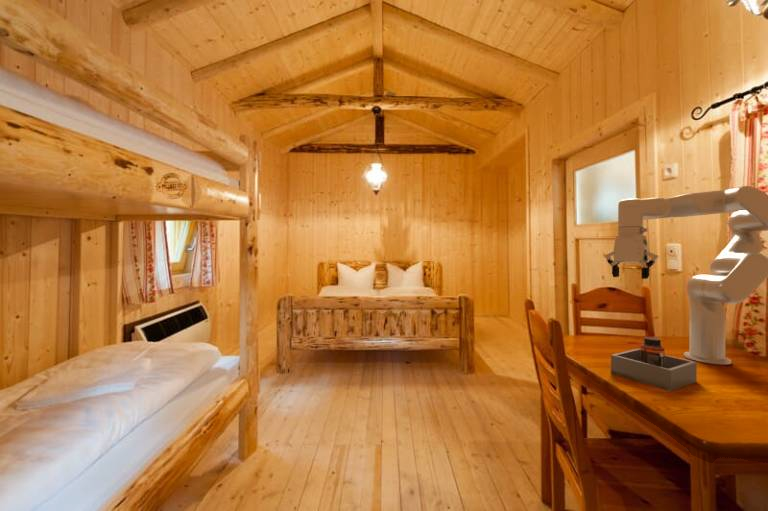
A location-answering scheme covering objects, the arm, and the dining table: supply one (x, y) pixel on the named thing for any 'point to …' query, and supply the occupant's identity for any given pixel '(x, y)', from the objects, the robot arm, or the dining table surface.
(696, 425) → the dining table surface
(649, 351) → the supplement bottle
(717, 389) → the dining table surface
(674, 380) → the bin
